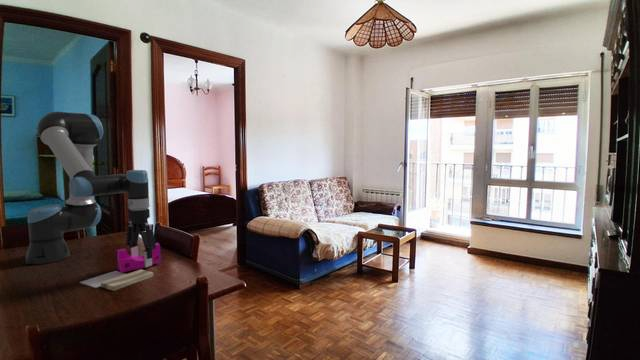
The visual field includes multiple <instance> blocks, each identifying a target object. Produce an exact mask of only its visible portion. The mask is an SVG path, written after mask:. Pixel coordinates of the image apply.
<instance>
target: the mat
mask: <svg viewBox="0 0 640 360" xmlns="http://www.w3.org/2000/svg"><path fill="white" fill-rule="evenodd" d="M125 274H127V273H125V272H121V271H120V270H119V271H118V270H113V271H111V272H107V273H104V274H101V275H97V276H95V277H92V278H91V277H90V278H88V279H85V280H82V281H79V284H81V285H85V286H88V287H91V288H94V289H98V288H101V282H104V281H107V280H110V279H113V278H116V277H119V276H122V275H125Z"/></svg>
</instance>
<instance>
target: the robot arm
mask: <svg viewBox="0 0 640 360" xmlns="http://www.w3.org/2000/svg"><path fill="white" fill-rule="evenodd" d="M36 129H37V130H36V131H37V135H38V138H39V139H40V140H41V142H42V143H43V144H45V145H47V147H49V149H50V150H51V151H52V153H53V154H54V156H55V158H56V159H57V161H58V162H59V163H60V165H61V167H62V168H63V170H64V171H65V172H66V175H68V177H69V182H68V190H69V198H67V200H65V202H64V203H65V205H64V206H62V205H61V204H58V203H56V204H54V203H53V204H47V205H42V206H38V207H34V208H32V209H30V210H29V211H28V212H27V221H26V222H27V227H28V239H29V246H28V249H27V252H26V254H25V263H26V264H28V265H43V264H51V263H55V262H59V261H62V260H65V259H68V258H69V257H70V256H71V254H70V249H69V247H68V245H67V243H66V240H65V239H64V233H69V232H73V231H75V232H76V231H79V230H87V229H89V228H93V227H96V226H97V225H98V224H99V222H100V220H101V218H102V210H101V206H100V204H98V202H97V201H96V200H95V198H93V197H94V196H96V197H97V196H104V195H114V194H122V193H123V194H126V195H127V196H126V197H127V208H128V211H127V213H128V216H127V217H128V219H129V220H130V221H127V222H126V225H125V226H126V239H125V241H126V243H125V244H126V246H128V247H129V249H130V256H132V257H140V255H139V244H138V241H139V237H140V236H141V237H140V238H141V240H142V243H143V246H144V250H143V255H144V260H145V267H144V268H148V267H151V266H153V264H152V250H153V249H155V248H156V245H155V243H156V240H155V233H154V224H153V223H149V221H148V219H149V218H150V217H151V214H150V196H149V195H150V192H149V176H148V171H147V170H146V169H132V170H131V169H130V170H127V171H126V174H123V173H115V174H109V175H106V174H105V175H96V173H94V172H93V169H94V168H93V166H94V165H93V164H94V148H95V147H96V146H97V145H98V141H100V140H102V139H103V135H104V127H103V124H102V122H101V120H100V119H99V117H98V116H97V115H94V114H91V113H89V114H88V113H81V112H80V113H79V112H63V111H53V112H49V113H46V114H45V115H44V116H42V117H41V118H40V120H39V122H38V123H37V128H36Z"/></svg>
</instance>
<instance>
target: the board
mask: <svg viewBox="0 0 640 360" xmlns="http://www.w3.org/2000/svg"><path fill="white" fill-rule="evenodd" d="M153 277H154V272H153V271H149V270H144V269H143V268H140V269H136V270H133V271H132V272H131V271H130V272H128V273H126V274H125V275H122V276H119V277H116V278H113V279H110V280H107V281H104V282H101V286H100V288H103V289H107V290H110V291H119V290H120V289H123V288H126V287H128V286H131V285H133V284H136V283H140V282H141V281H144V280H147V279H150V278H153Z"/></svg>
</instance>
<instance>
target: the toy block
mask: <svg viewBox="0 0 640 360" xmlns="http://www.w3.org/2000/svg"><path fill="white" fill-rule="evenodd" d="M155 245H156V248H155V249H153V250H152V265H153V264H157V263H162V258H161V257H162V255H161V253H162V251H161V244H160V243H159V242H155ZM127 250H128V249H126V248H125V247H124V248H119V249H116V255H117V259H116V260H117V269H118V270H119V272H123V273H125V272H131V271H136V270H140V269H143V268H146V267H145V260H144V254H143V255H141V256H139V257H132V256H131V254H129V253H128V251H127Z"/></svg>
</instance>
